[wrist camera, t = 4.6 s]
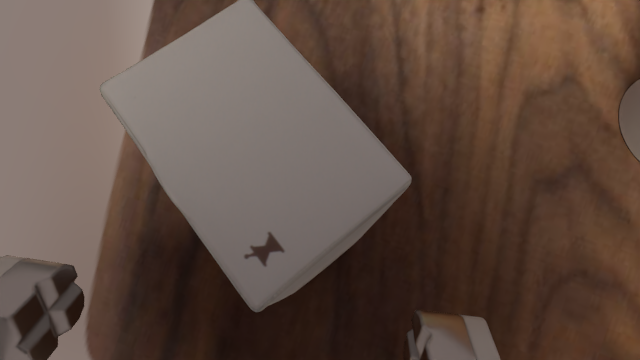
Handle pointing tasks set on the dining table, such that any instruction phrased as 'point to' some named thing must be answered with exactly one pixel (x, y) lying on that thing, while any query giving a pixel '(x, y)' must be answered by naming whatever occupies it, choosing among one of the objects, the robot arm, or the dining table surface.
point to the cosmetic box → (256, 151)
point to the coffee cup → (631, 118)
